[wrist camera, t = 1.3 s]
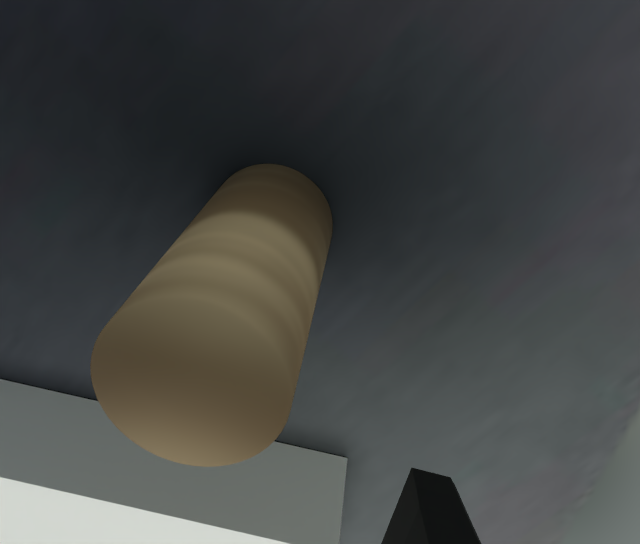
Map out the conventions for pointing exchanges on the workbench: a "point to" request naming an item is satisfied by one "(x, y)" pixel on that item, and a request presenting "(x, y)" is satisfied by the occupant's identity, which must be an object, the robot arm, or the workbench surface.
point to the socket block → (149, 484)
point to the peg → (220, 324)
